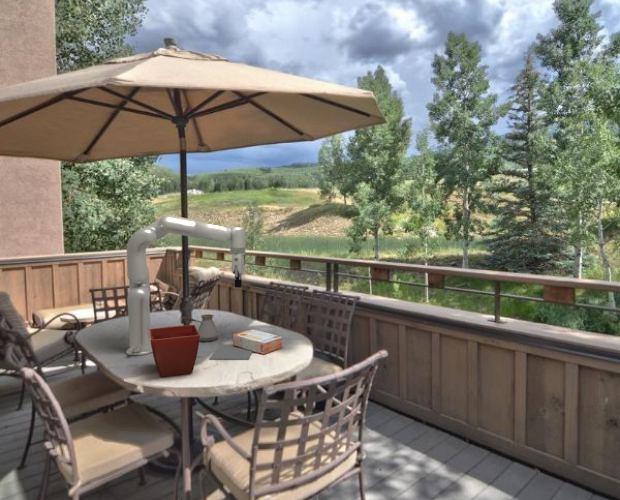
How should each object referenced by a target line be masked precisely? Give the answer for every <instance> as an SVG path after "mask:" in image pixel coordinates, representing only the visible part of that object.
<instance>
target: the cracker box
mask: <svg viewBox="0 0 620 500" xmlns="http://www.w3.org/2000/svg"><path fill="white" fill-rule="evenodd" d="M232 344H233V345H234V346H237V347H241V348H244V349H247V350H251V351H253V352H255V353H258V354H261V355H265V354H266V355H267V354H269V353H272V352H274V351H276V350H279V349H282V348H283V336H280V335H276V334H272V333H270V332H269V333H268V332H265V331H261V330H257V329H254V328H250V329H247V330H243V331H241V332H237V333H234V334H232Z"/></svg>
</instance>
